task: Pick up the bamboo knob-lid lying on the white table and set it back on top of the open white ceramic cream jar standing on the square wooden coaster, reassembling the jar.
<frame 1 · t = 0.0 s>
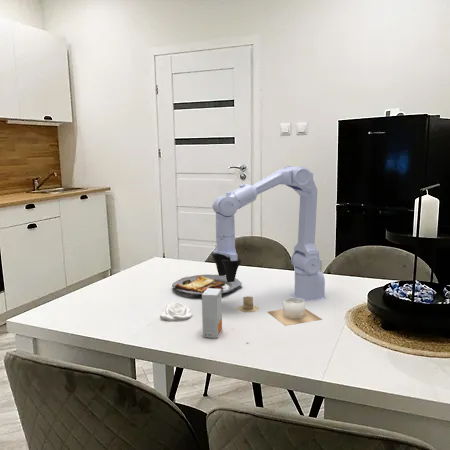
hand: (226, 278, 140), 10 cm above the table, tool pointing down, fingers open, 7 cm apart
jar: (293, 315, 134), point 1 cm above the table, touching square wooden coaster
food plate: (206, 289, 164), on the table
rose: (176, 317, 137), on the table
square wooden coaster: (293, 317, 134), on the table
skincare box: (212, 334, 124), on the table
lid: (248, 310, 141), on the table
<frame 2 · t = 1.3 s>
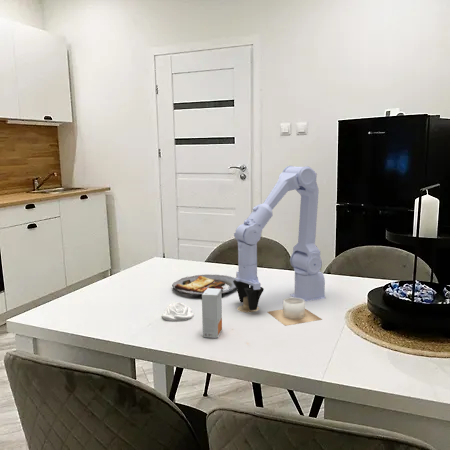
hand: (248, 305, 141), 1 cm above the table, tool pointing down, fingers open, 7 cm apart
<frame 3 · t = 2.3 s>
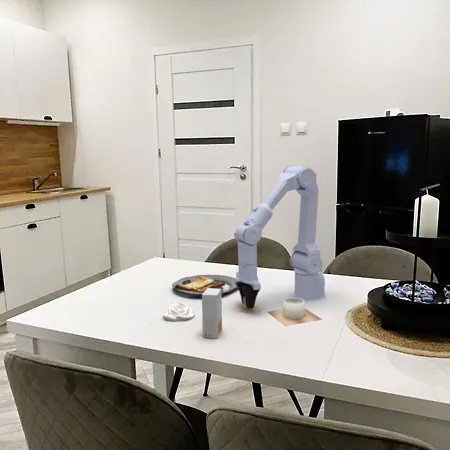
hand: (248, 305, 141), 1 cm above the table, tool pointing down, fingers closed on lid, 3 cm apart
lid: (248, 310, 141), on the table, touching gripper
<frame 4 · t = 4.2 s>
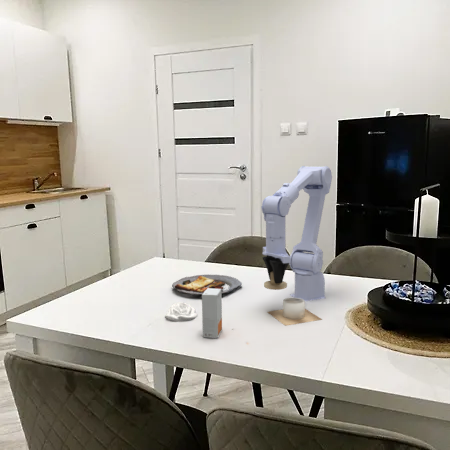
hand: (275, 281, 135), 10 cm above the table, tool pointing down, fingers closed on lid, 3 cm apart
lid: (275, 286, 135), point 9 cm above the table, touching gripper
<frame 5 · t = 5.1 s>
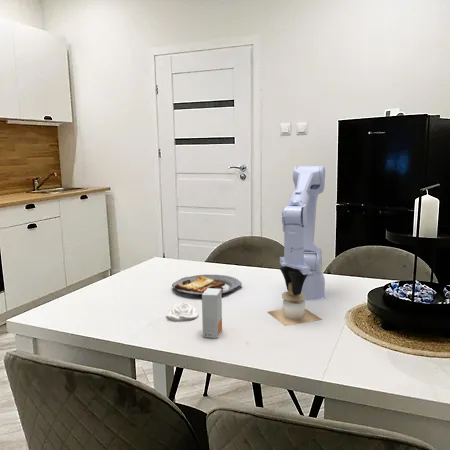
hand: (293, 292, 133), 8 cm above the table, tool pointing down, fingers closed on lid, 3 cm apart
lid: (293, 297, 133), point 6 cm above the table, touching gripper
when the fingers open (7 cm above the table, at t = 5.9 s): lid stays where it is, resting on jar.
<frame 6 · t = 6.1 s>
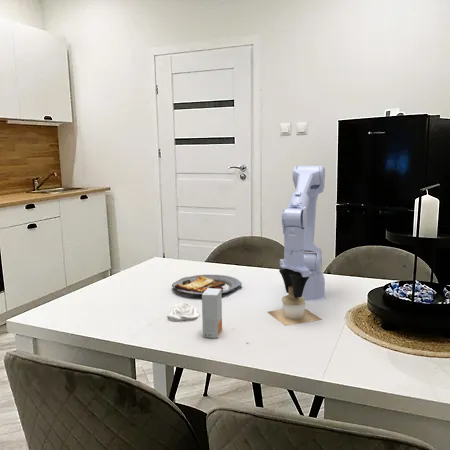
hand: (293, 294, 133), 7 cm above the table, tool pointing down, fingers open, 4 cm apart
jar: (293, 315, 134), point 1 cm above the table, touching lid, square wooden coaster
lid: (293, 301, 133), point 5 cm above the table, touching jar
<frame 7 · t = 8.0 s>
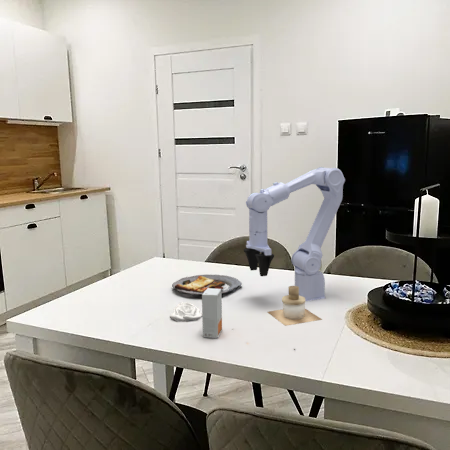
hand: (258, 272, 144), 10 cm above the table, tool pointing down, fingers open, 7 cm apart
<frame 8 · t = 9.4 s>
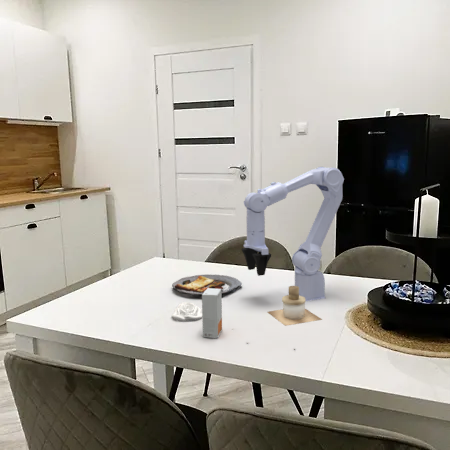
hand: (256, 272, 146), 10 cm above the table, tool pointing down, fingers open, 7 cm apart
at the end: lid 0.1 cm off-centre on the jar, point 4.5 cm above the jar's base; lid tilted 0°; the gripper is holding nothing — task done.
